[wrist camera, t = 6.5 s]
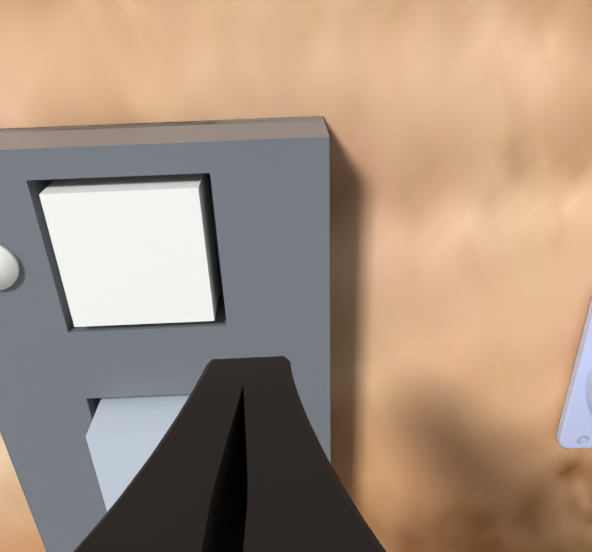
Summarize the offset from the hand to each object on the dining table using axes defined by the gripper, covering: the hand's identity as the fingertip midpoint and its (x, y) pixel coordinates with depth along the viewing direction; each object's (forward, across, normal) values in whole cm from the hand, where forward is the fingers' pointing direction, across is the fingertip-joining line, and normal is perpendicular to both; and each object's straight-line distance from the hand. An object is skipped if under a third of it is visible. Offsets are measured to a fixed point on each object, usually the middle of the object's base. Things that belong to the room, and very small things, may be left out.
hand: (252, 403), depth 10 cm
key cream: (+10, +4, +1) cm, 11 cm away
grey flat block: (+10, +4, +9) cm, 14 cm away
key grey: (+8, +4, +9) cm, 13 cm away
